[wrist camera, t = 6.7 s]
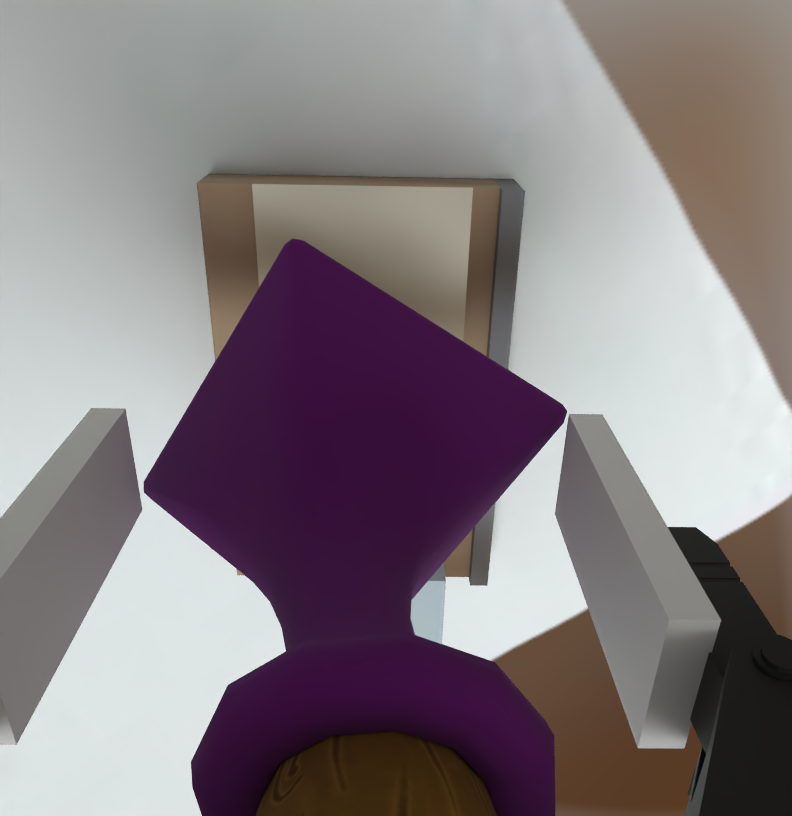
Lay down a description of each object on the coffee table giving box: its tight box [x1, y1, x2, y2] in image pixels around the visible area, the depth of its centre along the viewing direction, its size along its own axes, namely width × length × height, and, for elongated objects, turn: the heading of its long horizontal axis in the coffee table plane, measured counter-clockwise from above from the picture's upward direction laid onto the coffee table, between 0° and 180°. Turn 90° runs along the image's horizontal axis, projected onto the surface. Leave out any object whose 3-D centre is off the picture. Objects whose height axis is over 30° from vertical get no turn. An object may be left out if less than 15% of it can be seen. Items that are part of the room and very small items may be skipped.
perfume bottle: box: [144, 239, 567, 816], centre depth 12 cm, size 8×8×18 cm
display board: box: [197, 174, 525, 585], centre depth 31 cm, size 18×12×3 cm, turn 179°
